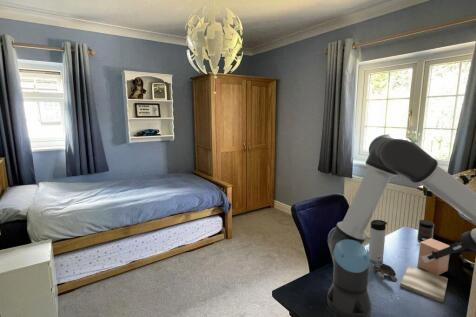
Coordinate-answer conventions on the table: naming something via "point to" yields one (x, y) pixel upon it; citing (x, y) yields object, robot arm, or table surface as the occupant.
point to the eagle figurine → (385, 271)
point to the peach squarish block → (438, 264)
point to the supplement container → (425, 230)
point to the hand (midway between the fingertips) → (432, 255)
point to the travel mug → (377, 241)
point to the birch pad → (424, 283)
